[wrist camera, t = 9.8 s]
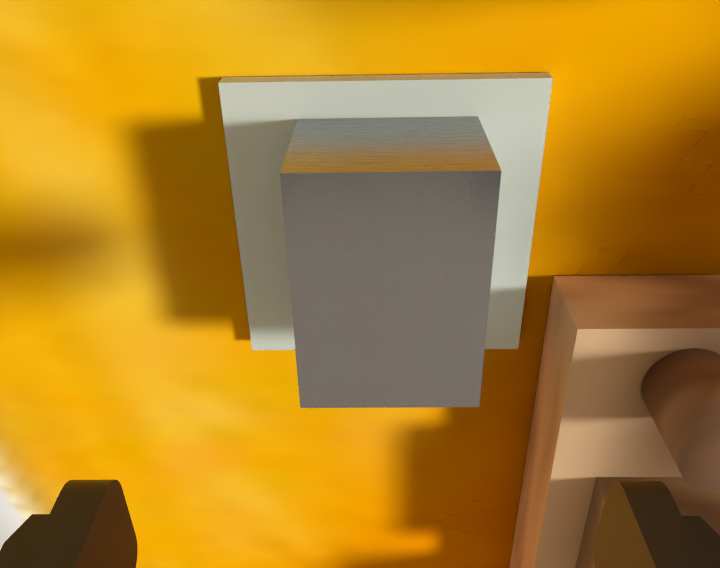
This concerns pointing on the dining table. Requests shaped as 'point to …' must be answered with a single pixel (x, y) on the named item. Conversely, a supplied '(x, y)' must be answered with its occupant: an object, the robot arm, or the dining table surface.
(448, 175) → the lever cap
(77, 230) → the dining table surface
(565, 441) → the body
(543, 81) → the mat
